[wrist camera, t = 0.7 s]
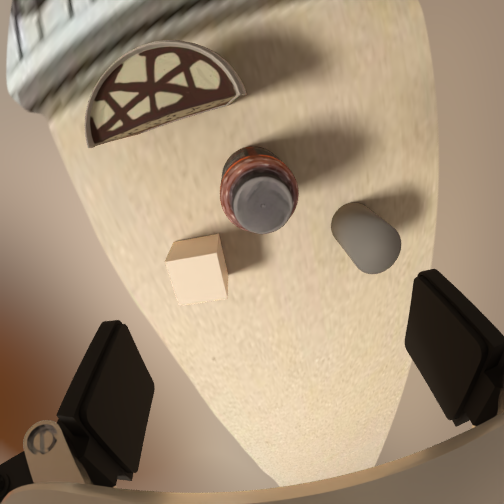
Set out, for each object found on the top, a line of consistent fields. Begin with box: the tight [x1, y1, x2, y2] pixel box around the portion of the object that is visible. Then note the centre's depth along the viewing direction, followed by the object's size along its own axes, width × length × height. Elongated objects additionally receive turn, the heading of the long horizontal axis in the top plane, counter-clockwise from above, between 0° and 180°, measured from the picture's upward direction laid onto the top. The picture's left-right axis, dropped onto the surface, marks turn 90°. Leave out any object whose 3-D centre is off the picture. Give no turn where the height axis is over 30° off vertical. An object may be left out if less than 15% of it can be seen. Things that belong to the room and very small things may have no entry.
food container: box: [85, 40, 247, 148], centre depth 22 cm, size 12×6×10 cm, turn 104°
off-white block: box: [165, 234, 228, 306], centre depth 32 cm, size 5×5×5 cm
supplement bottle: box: [220, 147, 298, 234], centre depth 26 cm, size 6×6×11 cm
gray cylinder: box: [331, 202, 401, 274], centre depth 30 cm, size 5×5×7 cm
